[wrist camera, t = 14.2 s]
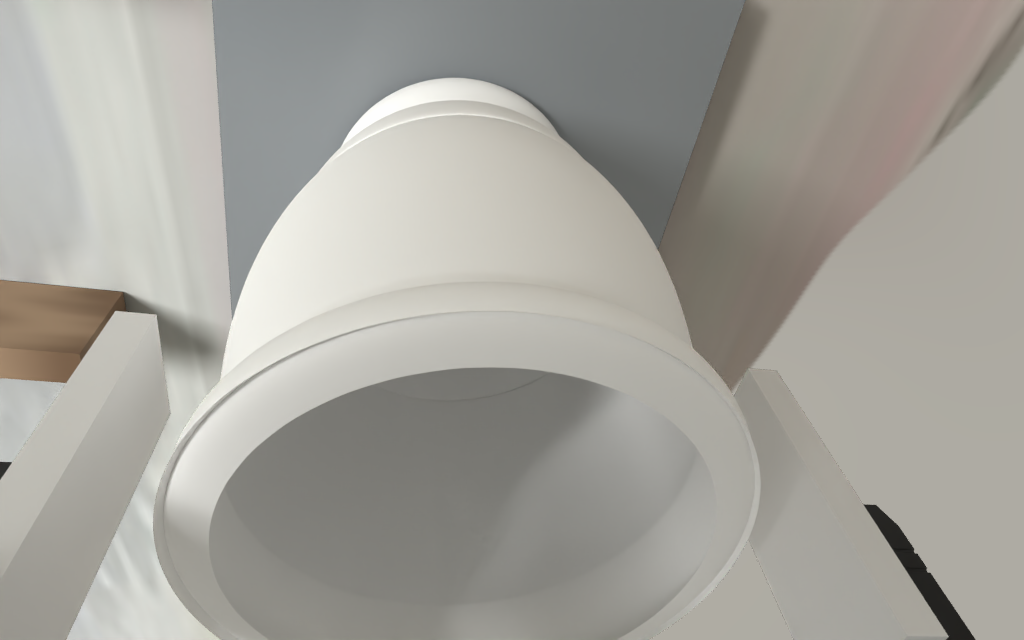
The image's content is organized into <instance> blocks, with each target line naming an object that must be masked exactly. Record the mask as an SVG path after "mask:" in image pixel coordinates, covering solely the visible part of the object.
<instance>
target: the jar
mask: <svg viewBox="0 0 1024 640" xmlns="http://www.w3.org/2000/svg"><path fill="white" fill-rule="evenodd" d="M760 489H761V479H760V468H759V462H758V457H757V453H756V450H755V447H754V444H753V441H752V438H751V435H750V431H749V428H748V426H747V423H746V420H745V418H744V416H743V413H742V411H741V409H740V407H739V405H738V403H737V401H736V399H735V398H734V396H733V394H732V392H731V391H730V389H729V388H728V386H727V385H726V384H725V382H724V381H723V380H722V378H721V377H720V376H719V375H718V374H717V372H716V371H715V370H714V369H713V368H712V367H711V366H710V365H709V364H708V362H707V361H706V360H705V359H704V358H703V357H702V356H701V355H700V354H698V353H697V352H696V351H695V350H694V349H693V347H692V343H691V339H690V335H689V331H688V327H687V324H686V320H685V317H684V314H683V310H682V307H681V304H680V301H679V298H678V296H677V293H676V290H675V287H674V285H673V282H672V280H671V277H670V275H669V273H668V270H667V268H666V266H665V264H664V262H663V260H662V258H661V256H660V254H659V252H658V250H657V248H656V246H655V244H654V242H653V241H652V239H651V237H650V235H649V234H648V232H647V231H646V229H645V227H644V226H643V224H642V223H641V221H640V220H639V218H638V217H637V215H636V214H635V213H634V211H633V210H632V209H631V207H630V206H629V205H628V203H627V202H626V201H625V200H624V198H623V197H622V196H621V195H620V194H619V192H618V191H617V190H616V189H615V188H614V187H613V186H612V185H611V184H610V183H609V181H608V180H607V179H606V178H605V177H604V176H603V175H601V174H600V173H599V172H598V171H597V170H596V169H595V168H594V167H593V166H592V165H590V164H589V163H588V162H587V161H586V160H584V159H583V158H582V157H581V156H580V155H579V154H578V152H577V151H576V150H574V149H573V148H572V147H571V146H570V145H569V144H568V143H567V142H566V141H565V140H563V139H562V138H561V137H560V136H559V135H558V133H557V131H556V130H555V128H554V127H553V126H552V124H551V123H550V122H549V120H548V119H547V118H546V117H545V116H544V115H543V114H542V113H541V112H540V111H539V110H538V109H537V108H536V107H535V106H533V105H532V104H531V103H530V102H528V101H527V100H525V99H524V98H522V97H521V96H519V95H517V94H516V93H514V92H512V91H510V90H508V89H506V88H503V87H501V86H498V85H495V84H492V83H489V82H485V81H481V80H475V79H468V78H440V79H433V80H428V81H423V82H419V83H416V84H413V85H410V86H407V87H405V88H402V89H400V90H398V91H396V92H394V93H392V94H390V95H388V96H387V97H385V98H384V99H382V100H381V101H379V102H378V103H376V104H375V105H374V106H373V107H371V108H370V109H369V110H368V111H367V112H366V113H365V114H364V115H363V116H362V117H361V118H360V119H359V120H358V121H357V123H356V124H355V125H354V126H353V128H352V129H351V130H350V132H349V133H348V135H347V137H346V138H345V140H344V142H343V144H342V146H341V148H340V149H338V150H337V151H336V152H335V153H334V154H333V156H332V157H331V158H330V159H329V160H328V161H327V162H326V163H325V165H324V166H323V167H322V168H321V169H320V171H319V172H318V173H317V174H316V175H315V176H314V177H313V178H312V179H311V180H310V181H309V182H308V183H307V184H306V185H305V186H304V188H303V189H302V190H301V191H300V192H299V193H298V194H297V195H296V197H295V198H294V199H293V200H292V201H291V203H290V204H289V205H288V207H287V208H286V209H285V211H284V212H283V213H282V215H281V216H280V218H279V219H278V221H277V222H276V224H275V225H274V227H273V228H272V230H271V231H270V233H269V235H268V236H267V238H266V240H265V242H264V243H263V245H262V247H261V249H260V251H259V253H258V255H257V257H256V259H255V261H254V263H253V265H252V267H251V270H250V272H249V274H248V277H247V279H246V281H245V284H244V287H243V289H242V292H241V295H240V298H239V301H238V304H237V307H236V310H235V313H234V317H233V320H232V324H231V328H230V332H229V336H228V340H227V344H226V349H225V354H224V359H223V365H222V371H221V377H220V381H219V382H218V383H217V384H216V385H215V387H214V388H213V389H212V390H211V391H210V392H209V393H208V395H207V396H206V397H205V398H204V400H203V401H202V402H201V404H200V405H199V406H198V408H197V409H196V410H195V412H194V413H193V415H192V416H191V418H190V419H189V421H188V423H187V424H186V426H185V428H184V429H183V431H182V433H181V435H180V437H179V439H178V441H177V444H176V446H175V449H174V451H173V454H172V457H171V458H170V460H169V462H168V464H167V466H166V468H165V471H164V473H163V476H162V478H161V481H160V484H159V487H158V491H157V495H156V499H155V505H154V514H153V532H154V541H155V547H156V551H157V555H158V559H159V562H160V565H161V567H162V570H163V572H164V574H165V576H166V578H167V580H168V582H169V584H170V586H171V588H172V589H173V591H174V592H175V594H176V595H177V597H178V598H179V599H180V601H181V602H182V603H183V605H184V606H185V607H186V608H187V609H188V611H189V612H190V613H191V614H192V615H193V616H194V617H195V618H196V619H197V620H198V621H199V622H200V623H201V624H202V625H204V626H205V627H206V628H207V629H208V630H209V631H211V632H212V633H213V634H214V635H216V636H217V637H218V638H220V639H221V640H649V639H651V638H653V637H654V636H656V635H658V634H659V633H661V632H662V631H664V630H665V629H667V628H668V627H670V626H671V625H673V624H674V623H676V622H677V621H678V620H680V619H681V618H682V617H684V616H685V615H686V614H688V613H689V612H690V611H691V610H692V609H694V608H695V607H696V606H697V605H698V604H699V603H700V602H702V601H703V600H704V599H705V598H706V597H707V596H708V595H709V594H710V593H711V592H712V591H713V590H714V589H715V588H716V586H717V585H718V584H719V583H720V582H721V581H722V579H723V578H724V577H725V576H726V575H727V573H728V572H729V571H730V569H731V568H732V566H733V565H734V564H735V562H736V561H737V559H738V557H739V556H740V554H741V552H742V550H743V549H744V547H745V545H746V543H747V541H748V539H749V536H750V534H751V531H752V529H753V526H754V523H755V520H756V516H757V512H758V507H759V501H760Z"/></svg>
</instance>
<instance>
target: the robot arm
mask: <svg viewBox="0 0 1024 640" xmlns="http://www.w3.org/2000/svg"><path fill="white" fill-rule="evenodd" d="M734 398H735V399H736V401H737V403H738V405H739V407H740V409H741V411H742V413H743V416H744V418H745V420H746V423H747V426H748V428H749V431H750V435H751V438H752V441H753V444H754V447H755V450H756V453H757V457H758V462H759V468H760V479H761V489H760V501H759V507H758V512H757V516H756V520H755V523H754V526H753V529H752V531H751V534H750V536H749V539H748V540H749V542H750V544H751V546H752V549H753V551H754V553H755V555H756V558H757V560H758V562H759V564H760V567H761V569H762V571H763V573H764V575H765V578H766V580H767V582H768V584H769V586H770V589H771V591H772V593H773V595H774V598H775V600H776V602H777V604H778V606H779V609H780V611H781V613H782V616H783V618H784V620H785V622H786V624H787V627H788V629H789V631H790V633H791V636H792V638H793V640H975V638H974V637H973V635H972V634H971V632H970V631H969V629H968V628H967V626H966V625H965V623H964V622H963V621H962V619H961V618H960V616H959V615H958V613H957V612H956V610H955V609H954V607H953V606H952V604H951V603H950V601H949V600H948V598H947V597H946V595H945V594H944V593H943V591H942V590H941V588H940V587H939V585H938V584H937V582H936V581H935V579H934V578H933V576H932V575H931V573H928V572H927V571H926V569H927V568H926V566H925V564H924V563H923V561H922V560H921V559H920V557H919V556H918V554H915V553H914V548H913V547H912V545H911V544H910V542H909V541H908V539H907V538H906V536H905V535H904V533H903V532H902V530H901V529H900V528H899V526H898V525H897V524H896V523H894V521H893V520H891V519H890V518H889V517H888V516H887V515H886V514H885V513H884V512H883V511H882V510H880V508H879V507H877V506H876V505H864V504H863V503H862V502H861V500H860V499H859V497H858V495H857V494H856V492H855V491H854V489H853V488H852V486H851V485H850V483H849V482H848V480H847V479H846V477H845V476H844V474H843V472H842V471H841V469H840V468H839V466H838V465H837V463H836V462H835V460H834V458H833V457H832V455H831V454H830V452H829V451H828V449H827V448H826V446H825V445H824V443H823V441H822V440H821V438H820V437H819V435H818V434H817V432H816V431H815V429H814V427H813V426H812V424H811V423H810V421H809V420H808V418H807V417H806V415H805V414H804V412H803V410H802V409H801V407H800V406H799V404H798V403H797V401H796V400H795V398H794V397H793V395H792V393H791V392H790V390H789V389H788V387H787V386H786V384H785V383H784V381H783V379H782V378H781V376H780V375H779V374H778V372H777V371H774V370H764V369H763V370H762V369H753V368H748V369H747V371H746V373H745V375H744V377H743V379H742V381H741V383H740V385H739V387H738V389H737V391H736V393H735V395H734ZM170 414H171V413H170V406H169V399H168V392H167V385H166V378H165V371H164V364H163V357H162V350H161V343H160V336H159V329H158V322H157V315H155V314H144V313H133V312H122V311H115V312H114V314H113V315H112V317H111V318H110V320H109V321H108V323H107V324H106V326H105V327H104V328H103V330H102V331H101V333H100V334H99V336H98V337H97V339H96V340H95V342H94V343H93V345H92V346H91V348H90V349H89V350H88V352H87V353H86V355H85V356H84V358H83V359H82V361H81V362H80V364H79V365H78V367H77V368H76V370H75V371H74V373H73V374H72V375H71V377H70V378H69V380H68V381H67V383H66V384H65V386H64V387H63V389H62V390H61V392H60V393H59V395H58V396H57V397H56V399H55V400H54V402H53V403H52V405H51V406H50V408H49V409H48V411H47V412H46V414H45V415H44V417H43V418H42V419H41V421H40V422H39V424H38V425H37V427H36V428H35V430H34V431H33V433H32V434H31V436H30V437H29V439H28V440H27V442H26V443H25V444H24V446H23V447H22V449H21V450H20V452H19V453H18V455H17V456H16V458H15V459H14V461H13V462H0V640H66V639H67V637H68V635H69V632H70V630H71V628H72V626H73V624H74V622H75V619H76V617H77V615H78V613H79V611H80V609H81V606H82V604H83V602H84V600H85V598H86V596H87V593H88V591H89V589H90V587H91V585H92V583H93V580H94V578H95V576H96V574H97V572H98V570H99V567H100V565H101V563H102V561H103V559H104V557H105V555H106V552H107V550H108V548H109V546H110V544H111V542H112V539H113V537H114V535H115V533H116V531H117V529H118V526H119V524H120V522H121V520H122V518H123V516H124V513H125V511H126V509H127V507H128V505H129V503H130V500H131V498H132V496H133V494H134V492H135V490H136V487H137V485H138V483H139V481H140V479H141V477H142V474H143V472H144V470H145V468H146V466H147V464H148V461H149V459H150V457H151V455H152V453H153V451H154V449H155V446H156V444H157V442H158V440H159V438H160V436H161V433H162V431H163V429H164V427H165V425H166V423H167V420H168V418H169V416H170Z"/></svg>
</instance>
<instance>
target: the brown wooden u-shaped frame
mask: <svg viewBox="0 0 1024 640" xmlns="http://www.w3.org/2000/svg"><path fill="white" fill-rule="evenodd" d="M115 311H122V312H126V306H125V300H124V295H123V292H117V291H107V290H97V289H86V288H76V287H66V286H56V285H45V284H35V283H25V282H15V281H4V280H0V378H8V379H21V380H35V381H48V382H62V383H67V381H68V380H69V378H70V377H71V375H72V374H73V373H74V371H75V370H76V368H77V367H78V365H79V364H80V362H81V361H82V359H83V358H84V356H85V355H86V353H87V352H88V350H89V349H90V348H91V346H92V345H93V343H94V342H95V340H96V339H97V337H98V336H99V334H100V333H101V331H102V330H103V328H104V327H105V326H106V324H107V323H108V321H109V320H110V318H111V317H112V315H113V314H114V312H115Z"/></svg>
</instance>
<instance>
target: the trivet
mask: <svg viewBox="0 0 1024 640" xmlns="http://www.w3.org/2000/svg"><path fill="white" fill-rule="evenodd" d="M744 3H745V0H212V9H213V24H214V40H215V56H216V72H217V88H218V104H219V120H220V135H221V151H222V167H223V183H224V199H225V215H226V231H227V246H228V262H229V278H230V294H231V310H232V320H233V317H234V313H235V310H236V307H237V304H238V301H239V298H240V295H241V292H242V289H243V287H244V284H245V281H246V279H247V277H248V274H249V272H250V270H251V267H252V265H253V263H254V261H255V259H256V257H257V255H258V253H259V251H260V249H261V247H262V245H263V243H264V242H265V240H266V238H267V236H268V235H269V233H270V231H271V230H272V228H273V227H274V225H275V224H276V222H277V221H278V219H279V218H280V216H281V215H282V213H283V212H284V211H285V209H286V208H287V207H288V205H289V204H290V203H291V201H292V200H293V199H294V198H295V197H296V195H297V194H298V193H299V192H300V191H301V190H302V189H303V188H304V186H305V185H306V184H307V183H308V182H309V181H310V180H311V179H312V178H313V177H314V176H315V175H316V174H317V173H318V172H319V171H320V169H321V168H322V167H323V166H324V165H325V163H326V162H327V161H328V160H329V159H330V158H331V157H332V156H333V154H334V153H335V152H336V151H337V150H338V149H340V148H341V146H342V144H343V142H344V140H345V138H346V137H347V135H348V133H349V132H350V130H351V129H352V128H353V126H354V125H355V124H356V123H357V121H358V120H359V119H360V118H361V117H362V116H363V115H364V114H365V113H366V112H367V111H368V110H369V109H370V108H371V107H373V106H374V105H375V104H376V103H378V102H379V101H381V100H382V99H384V98H385V97H387V96H388V95H390V94H392V93H394V92H396V91H398V90H400V89H402V88H405V87H407V86H410V85H413V84H416V83H419V82H423V81H428V80H433V79H440V78H468V79H475V80H481V81H485V82H489V83H492V84H495V85H498V86H501V87H503V88H506V89H508V90H510V91H512V92H514V93H516V94H517V95H519V96H521V97H522V98H524V99H525V100H527V101H528V102H530V103H531V104H532V105H533V106H535V107H536V108H537V109H538V110H539V111H540V112H541V113H542V114H543V115H544V116H545V117H546V118H547V119H548V120H549V122H550V123H551V124H552V126H553V127H554V128H555V130H556V131H557V133H558V135H559V136H560V137H561V138H562V139H563V140H565V141H566V142H567V143H568V144H569V145H570V146H571V147H572V148H573V149H574V150H576V151H577V152H578V154H579V155H580V156H581V157H582V158H583V159H584V160H586V161H587V162H588V163H589V164H590V165H592V166H593V167H594V168H595V169H596V170H597V171H598V172H599V173H600V174H601V175H603V176H604V177H605V178H606V179H607V180H608V181H609V183H610V184H611V185H612V186H613V187H614V188H615V189H616V190H617V191H618V192H619V194H620V195H621V196H622V197H623V198H624V200H625V201H626V202H627V203H628V205H629V206H630V207H631V209H632V210H633V211H634V213H635V214H636V215H637V217H638V218H639V220H640V221H641V223H642V224H643V226H644V227H645V229H646V231H647V232H648V234H649V235H650V237H651V239H652V241H653V242H654V244H655V246H656V248H657V250H658V248H659V245H660V242H661V240H662V237H663V234H664V231H665V228H666V225H667V222H668V220H669V217H670V214H671V211H672V208H673V205H674V202H675V200H676V197H677V194H678V191H679V188H680V185H681V183H682V180H683V177H684V174H685V171H686V168H687V165H688V163H689V160H690V157H691V154H692V151H693V148H694V145H695V143H696V140H697V137H698V134H699V131H700V128H701V125H702V123H703V120H704V117H705V114H706V111H707V108H708V105H709V103H710V100H711V97H712V94H713V91H714V88H715V86H716V83H717V80H718V77H719V74H720V71H721V68H722V66H723V63H724V60H725V57H726V54H727V51H728V48H729V46H730V43H731V40H732V37H733V34H734V31H735V28H736V26H737V23H738V20H739V17H740V14H741V11H742V9H743V6H744Z"/></svg>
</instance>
